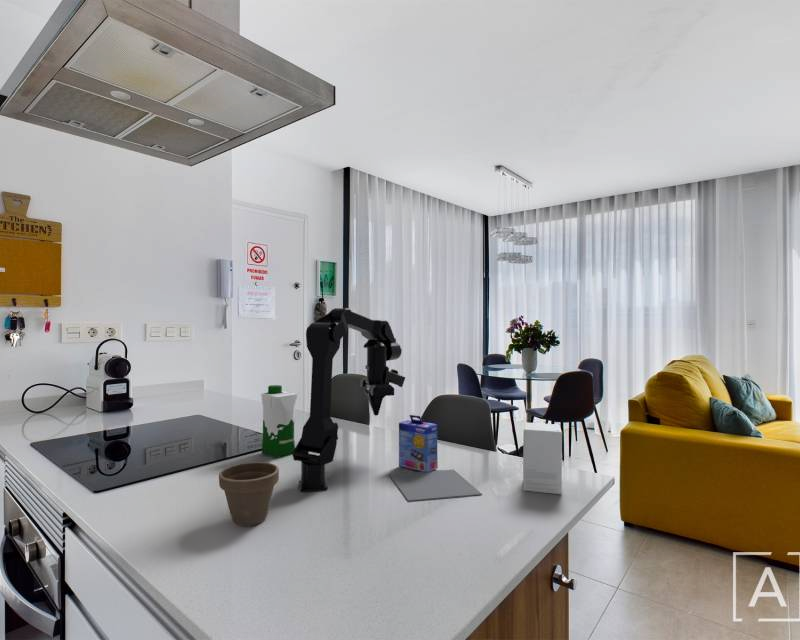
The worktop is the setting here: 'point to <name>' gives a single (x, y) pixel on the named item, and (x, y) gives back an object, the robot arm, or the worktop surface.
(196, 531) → the worktop surface
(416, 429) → the ink cartridge box
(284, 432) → the milk carton
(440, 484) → the charcoal mat
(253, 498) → the flower pot
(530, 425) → the supplement box
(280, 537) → the worktop surface
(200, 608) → the worktop surface
